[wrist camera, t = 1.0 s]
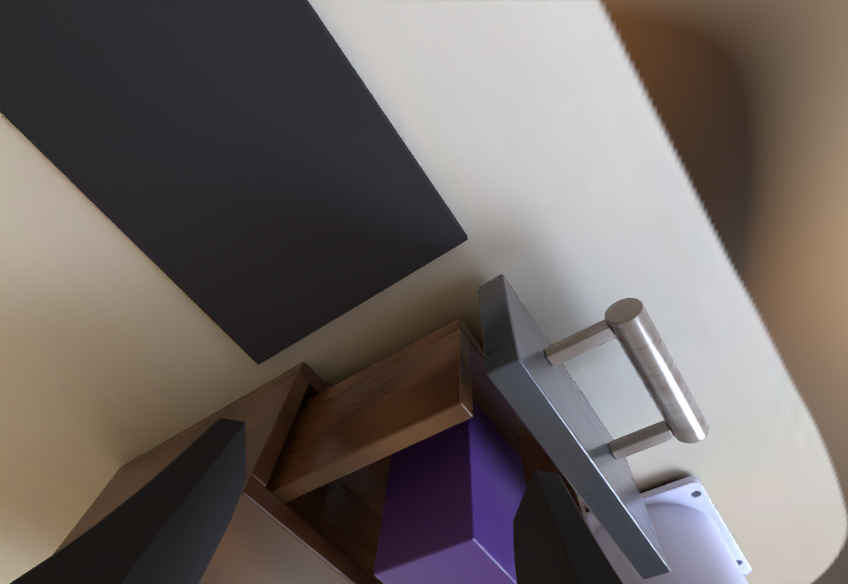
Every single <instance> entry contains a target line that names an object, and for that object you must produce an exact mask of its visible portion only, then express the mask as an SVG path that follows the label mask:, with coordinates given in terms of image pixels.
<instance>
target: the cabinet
mask: <svg viewBox="0 0 848 584" xmlns="http://www.w3.org/2000/svg"><path fill="white" fill-rule="evenodd" d="M327 389H329V388H328V387H327V386H326V385H325V384H324V383H323V382H322V381H321V379H320V378H319V377H318V376H317V375H316V374H315V373H314V372H313V371H312V370H311V369H310V368H309V367H308V366H307V365H306V364H305V363H302V364H300V365H298V366H296V367H295V368H293V369H291V370H290V371H288V372H286V373H284V374H283V375H281V376H279V377H277V378H276V379H274V380H272V381H270V382H269V383H267V384H265V385H263V386H262V387H260V388H258V389H256V390H255V391H253V392H251V393H250V394H248V395H246V396H244V397H243V398H241V399H239V400H237V401H236V402H234V403H232V404H230V405H229V406H227V407H225V408H223V409H222V410H220V411H218V412H216V413H215V414H213V415H211V416H210V417H208V418H206V419H204V420H203V421H201V422H199V423H197V424H196V425H194V426H192V427H190V428H189V429H187V430H185V431H183V432H182V433H180V434H178V435H176V436H175V437H173V438H171V439H170V440H168V441H166V442H164V443H163V444H161V445H159V446H157V447H156V448H154V449H152V450H150V451H149V452H147V453H145V454H143V455H142V456H140V457H138V458H136V459H135V460H133V461H131V462H130V463H128V464H126V465H124V466H123V467H121V468H119V470H118V471H117V472H116V474H115V475H114V476H113V479H111V480H110V481H109V483H108V484H107V485H106V487H105V488H104V489H103V491H102V492H101V493H100V494H99V496H98V497H97V498H96V500H95V501H94V502H93V503H92V505H91V506H90V507H89V509H88V510H87V511H86V513H85V514H84V515H83V516H82V518H81V519H80V520H79V522H78V523H77V524H76V525H75V527H74V528H73V529H72V531H71V532H70V533H69V535H68V536H67V537H66V538H65V540H64V541H63V542H62V544H61V545H60V546H59V547H58V549H57V550H56V551H55V553H56V552H58V551H59V550H61V549H62V548H63V547H65V546H66V545H68V544H69V543H71V542H72V541H73V540H75V539H76V538H78V537H79V536H80V535H82V534H83V533H84V532H86V531H87V530H88V529H90V528H91V527H92V526H94V525H95V524H96V523H98V522H99V521H100V520H102V519H103V518H104V517H105V516H107V515H108V514H109V513H111V512H112V511H113V510H114V509H116V508H117V507H118V506H119V505H121V504H122V503H123V502H124V501H126V500H127V499H128V498H129V497H131V496H132V495H133V494H134V493H136V492H137V491H138V490H139V489H140V488H142V487H143V486H144V485H145V484H146V483H148V482H149V481H150V480H151V479H152V478H153V477H155V476H156V475H157V474H158V473H159V472H160V471H161V470H163V469H164V468H165V467H166V466H167V465H168V464H170V463H171V462H172V461H173V460H174V459H175V458H176V457H177V456H178V455H180V454H181V453H182V452H183V451H184V450H185V449H186V448H187V447H188V446H189V445H191V444H192V443H193V442H194V441H195V440H196V439H197V438H198V437H199V436H200V435H201V434H202V433H203V432H204V431H206V430H207V429H208V428H209V427H210V426H211V425H212V424H213V423H214V422H215V421H216V420H218V419H219V418H225V419H231V420H237V421H243V422H245V430H246V469H247V479H246V482H245V484H244V487H243V490H242V493H241V495H240V498H239V501H238V503H237V506H236V508H235V511H234V513H233V516H232V519H231V521H230V523H229V525H228V527H227V529H226V531H225V533H224V535H223V537H222V539H221V541H220V543H219V545H218V547H217V549H216V551H215V553H214V555H213V557H212V559H211V561H210V563H209V564H208V566H207V568H206V570H205V572H204V574H203V576H202V578H201V580H200V582H199V584H378V583H377V582H376V581H375V580H374V579H372V578H371V577H370V576H369V575H368V574H367V573H365V572H364V571H363V570H362V569H361V568H359V567H358V566H357V565H356V564H355V563H354V562H352V561H351V560H350V559H349V558H348V557H347V556H345V555H344V554H343V553H342V552H341V551H339V550H338V549H337V548H336V547H335V546H334V545H332V544H331V543H330V542H329V541H328V540H327V539H325V538H324V537H323V536H322V535H321V534H319V533H318V532H317V531H316V530H315V529H314V528H312V527H311V526H310V525H309V524H308V523H307V522H305V521H304V520H303V519H302V518H301V517H299V516H298V515H297V514H296V513H295V512H294V511H292V510H291V509H290V508H289V507H288V506H287V505H285V504H284V503H283V502H282V501H281V500H279V499H278V498H277V497H276V496H275V495H274V494H272V493H271V492H270V491H269V490H268V489H267V488H265V487H266V486H267V484H268V481H269V479H270V476H271V474H272V471H273V469H274V467H275V464H276V462H277V459H278V457H279V455H280V452H281V450H282V447H283V445H284V443H285V440H286V438H287V435H288V433H289V431H290V428H291V426H292V423H293V421H294V419H295V416H296V414H297V411H298V409H299V407H300V404H301V403H303V402H305V401H306V400H308V399H310V398H312V397H314V396H316V395H318V394H319V393H321V392H323V391H325V390H327ZM55 553H54V554H55Z"/></svg>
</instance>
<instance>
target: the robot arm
mask: <svg viewBox="0 0 848 584" xmlns="http://www.w3.org/2000/svg"><path fill="white" fill-rule="evenodd" d="M246 479H247V469H246V430H245V422H243V421H237V420H231V419H225V418H219V419H218V420H216V421H215V422H214V423H213V424H212V425H211V426H210V427H209V428H208V429H207V430H206V431H204V432H203V433H202V434H201V435H200V436H199V437H198V438H197V439H196V440H195V441H194V442H193V443H192V444H191V445H189V446H188V447H187V448H186V449H185V450H184V451H183V452H182V453H181V454H180V455H178V456H177V457H176V458H175V459H174V460H173V461H172V462H171V463H170V464H168V465H167V466H166V467H165V468H164V469H163V470H161V471H160V472H159V473H158V474H157V475H156V476H155V477H153V478H152V479H151V480H150V481H149V482H148V483H146V484H145V485H144V486H143V487H142V488H140V489H139V490H138V491H137V492H136V493H134V494H133V495H132V496H131V497H129V498H128V499H127V500H126V501H124V502H123V503H122V504H121V505H119V506H118V507H117V508H116V509H114V510H113V511H112V512H111V513H109V514H108V515H107V516H105V517H104V518H103V519H102V520H100V521H99V522H98V523H96V524H95V525H94V526H92V527H91V528H90V529H88V530H87V531H86V532H84V533H83V534H82V535H80V536H79V537H78V538H76V539H75V540H73V541H72V542H71V543H69V544H68V545H66V546H65V547H63V548H62V549H61V550H59V551H58V552H56V553H55V554H53V555H52V556H51V557H49V558H48V559H46V560H45V561H43V562H42V563H40V564H39V565H37V566H36V567H34V568H33V569H31V570H30V571H28V572H27V573H25V574H23V575H22V576H20V577H19V578H17V579H16V580H14V581H13V582H11V583H10V584H199V582H200V580H201V578H202V576H203V574H204V572H205V570H206V568H207V566H208V564H209V563H210V561H211V559H212V557H213V555H214V553H215V551H216V549H217V547H218V545H219V543H220V541H221V539H222V537H223V535H224V533H225V531H226V529H227V527H228V525H229V523H230V521H231V519H232V516H233V513H234V511H235V508H236V506H237V503H238V501H239V498H240V495H241V493H242V490H243V487H244V484H245V482H246ZM640 495H641V497H642V500H643V502H644V505H645V507H646V510H647V512H648V514H649V517H650V519H651V522H652V524H653V527H654V529H655V532H656V534H657V537H658V539H659V542H660V544H661V546H662V549H663V551H664V554H665V556H666V559H667V561H668V564H669V566H670V569H671V571H670V572H668V573H665V574H661V575H658V576H655V577H651V578H648V579H642V578H641V576H640V575H639V574H638V572H637V571H636V570H635V568H634V567H633V566H632V565H631V563H630V562H629V561H628V559H627V558H626V557H625V555H624V554H623V553H622V551H621V550H620V549H619V548H618V546H617V545H616V544H615V542H614V541H613V540H612V538H611V537H610V536H609V535H608V533H607V532H606V531H605V529H604V528H603V527H602V525H601V524H600V523H599V521H598V520H597V519H596V518H595V516H594V515H593V514H592V512H591V511H589V512H587V513H586V514H587V518H588V522H589V525H590V529H591V530H590V529H589V527H588V525H587V523H586V522H585V520H584V518H583V516H582V515H581V513H580V511H579V509H578V508H577V506H576V504H575V502H574V500H573V498H572V497H571V495H570V493H569V491H568V489H567V488H566V486H565V484H564V482H563V480H562V478H561V477H560V475H559V474H558V473H554V472H548V471H542V470H536V469H534V470H533V473H532V475H531V478H530V480H529V483H528V485H527V488H526V490H525V492H524V495H523V497H522V500H521V502H520V505H519V507H518V510H517V512H516V515H515V517H514V520H513V544H514V565H515V572H516V580H517V584H748V582H747V580H746V578H745V577H744V576H745V575H748V574H749V573H750V572H751V567H750V565H749V563H748V562H747V560H746V558H745V557H744V555H743V553H742V552H741V550H740V548H739V546H738V545H737V543H736V541H735V540H734V538H733V536H732V535H731V533H730V531H729V530H728V528H727V526H726V524H725V523H724V521H723V519H722V518H721V516H720V514H719V513H718V511H717V509H716V508H715V506H714V504H713V502H712V501H711V499H710V497H709V496H708V494H707V492H706V491H705V489H704V487H703V486H702V484H701V482H700V480H699V479H698V478H696V477H686V478H683V479H680V480H678V481H675V482H672V483H669V484H666V485H663V486H660V487H658V488H655V489H652V490H649V491H646V492H643V493H641V494H640Z"/></svg>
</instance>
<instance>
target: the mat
mask: <svg viewBox="0 0 848 584" xmlns="http://www.w3.org/2000/svg"><path fill="white" fill-rule="evenodd" d="M0 112H1V113H2V114H3V115H4V116H5V117H6V118H7V119H8V120H9V121H10V122H11V123H12V124H13V125H14V126H15V127H16V128H17V129H19V130H20V131H21V132H22V133H23V134H24V135H25V136H26V137H27V138H28V139H29V140H30V141H31V142H32V143H33V144H34V145H35V146H36V147H37V148H38V149H39V150H40V151H41V152H42V153H43V154H44V155H45V156H46V157H47V158H48V159H49V160H50V161H51V162H52V163H53V164H54V165H55V166H56V167H57V168H58V169H59V170H60V171H61V172H62V173H63V174H64V175H65V176H66V177H67V178H68V179H69V180H70V181H71V182H73V183H74V184H75V185H76V186H77V187H78V188H79V189H80V190H81V191H82V192H83V193H84V194H85V195H86V196H87V197H88V198H89V199H90V200H91V201H92V202H93V203H94V204H95V205H96V206H97V207H98V208H99V209H100V210H101V211H102V212H103V213H104V214H105V215H106V216H107V217H108V218H109V219H110V220H111V221H112V222H113V223H114V224H115V225H116V226H117V227H118V228H119V229H120V230H121V231H122V232H123V233H124V234H125V235H127V236H128V237H129V238H130V239H131V240H132V241H133V242H134V243H135V244H136V245H137V246H138V247H139V248H140V249H141V250H142V251H143V252H144V253H145V254H146V255H147V256H148V257H149V258H150V259H151V260H152V261H153V262H154V263H155V264H156V265H157V266H158V267H159V268H160V269H161V270H162V271H163V272H164V273H165V274H166V275H167V276H168V277H169V278H170V279H171V280H172V281H173V282H174V283H175V284H176V285H177V286H178V287H179V288H181V289H182V290H183V291H184V292H185V293H186V294H187V295H188V296H189V297H190V298H191V299H192V300H193V301H194V302H195V303H196V304H197V305H198V306H199V307H200V308H201V309H202V310H203V311H204V312H205V313H206V314H207V315H208V316H209V317H210V318H211V319H212V320H213V321H214V322H215V323H216V324H217V325H218V326H219V327H220V328H221V329H222V330H223V331H224V332H225V333H226V334H227V335H228V336H229V337H230V338H231V339H232V340H233V341H235V342H236V343H237V344H238V345H239V346H240V347H241V348H242V349H243V350H244V351H245V352H246V353H247V354H248V355H249V356H250V357H251V358H252V359H253V360H254V361H255V362H256V363H257V364H260V363H262V362H264V361H265V360H267V359H269V358H270V357H272V356H274V355H275V354H277V353H279V352H280V351H282V350H284V349H285V348H287V347H289V346H290V345H292V344H294V343H296V342H297V341H299V340H301V339H302V338H304V337H306V336H307V335H309V334H311V333H312V332H314V331H316V330H317V329H319V328H321V327H322V326H324V325H326V324H327V323H329V322H331V321H332V320H334V319H336V318H337V317H339V316H341V315H342V314H344V313H346V312H347V311H349V310H351V309H352V308H354V307H356V306H357V305H359V304H361V303H363V302H364V301H366V300H368V299H369V298H371V297H373V296H374V295H376V294H378V293H379V292H381V291H383V290H384V289H386V288H388V287H389V286H391V285H393V284H394V283H396V282H398V281H399V280H401V279H403V278H404V277H406V276H408V275H409V274H411V273H413V272H414V271H416V270H418V269H419V268H421V267H423V266H424V265H426V264H428V263H429V262H431V261H433V260H435V259H436V258H438V257H440V256H441V255H443V254H445V253H446V252H448V251H450V250H451V249H453V248H455V247H456V246H458V245H460V244H461V243H463V242H465V241H466V240H467V239H468V238H467V235H466V233H465V232H464V230H463V229H462V227H461V226H460V224H459V223H458V221H457V220H456V218H455V217H454V215H453V214H452V212H451V211H450V210H449V208H448V207H447V205H446V204H445V202H444V201H443V199H442V198H441V196H440V195H439V193H438V192H437V190H436V189H435V187H434V186H433V184H432V183H431V182H430V180H429V179H428V177H427V176H426V174H425V173H424V171H423V170H422V168H421V167H420V165H419V164H418V162H417V161H416V159H415V158H414V156H413V155H412V153H411V152H410V151H409V149H408V148H407V146H406V145H405V143H404V142H403V140H402V139H401V137H400V136H399V134H398V133H397V131H396V130H395V128H394V127H393V125H392V124H391V123H390V121H389V120H388V118H387V117H386V115H385V114H384V112H383V111H382V109H381V108H380V106H379V105H378V103H377V102H376V100H375V99H374V97H373V96H372V95H371V93H370V92H369V90H368V89H367V87H366V86H365V84H364V83H363V81H362V80H361V78H360V77H359V75H358V74H357V72H356V71H355V69H354V68H353V66H352V65H351V64H350V62H349V61H348V59H347V58H346V56H345V55H344V53H343V52H342V50H341V49H340V47H339V46H338V44H337V43H336V41H335V40H334V38H333V37H332V36H331V34H330V33H329V31H328V30H327V28H326V27H325V25H324V24H323V22H322V21H321V19H320V18H319V16H318V15H317V13H316V12H315V10H314V9H313V8H312V6H311V5H310V3H309V2H308V0H0Z"/></svg>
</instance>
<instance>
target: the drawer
mask: <svg viewBox="0 0 848 584" xmlns="http://www.w3.org/2000/svg"><path fill="white" fill-rule="evenodd" d="M478 294H479V304H480V315H481V325H482V336H483V346H484V350H483V348H482V347H481V346H480V344H479V343H478V342H477V340H476V339H475V338H474V336H473V335H472V334H471V332H470V331H469V330H468V328H467V327H466V326H465V324H464V323H463V322H462V320H461V319H460V318H459V319H457V320H455V321H453V322H451V323H449V324H447V325H445V326H444V327H442V328H440V329H438V330H436V331H434V332H432V333H431V334H429V335H427V336H425V337H423V338H421V339H419V340H418V341H416V342H414V343H412V344H410V345H408V346H406V347H405V348H403V349H401V350H399V351H397V352H395V353H394V354H392V355H390V356H388V357H386V358H384V359H382V360H381V361H379V362H377V363H375V364H373V365H371V366H369V367H368V368H366V369H364V370H362V371H360V372H358V373H356V374H355V375H353V376H351V377H349V378H347V379H345V380H343V381H342V382H340V383H338V384H336V385H334V386H332V387H331V388H329V389H327V390H325V391H323V392H321V393H319V394H318V395H316V396H314V397H312V398H310V399H308V400H306V401H305V402H303V403H301V404H300V407H299V409H298V411H297V414H296V416H295V419H294V421H293V423H292V426H291V428H290V431H289V433H288V435H287V438H286V440H285V443H284V445H283V447H282V450H281V452H280V455H279V457H278V459H277V462H276V464H275V467H274V469H273V471H272V474H271V476H270V479H269V481H268V484H267V486H266V487H265V488H267V489H268V490H269V491H270V492H271V493H272V494H274V495H275V496H276V497H277V498H278V499H279V500H281V501H282V502H283V503H284V504H285V505H287V506H288V507H289V508H290V509H291V510H292V511H294V512H295V513H296V514H297V515H298V516H299V517H301V518H302V519H303V520H304V521H305V522H307V523H308V524H309V525H310V526H311V527H312V528H314V529H315V530H316V531H317V532H318V533H319V534H321V535H322V536H323V537H324V538H325V539H327V540H328V541H329V542H330V543H331V544H332V545H334V546H335V547H336V548H337V549H338V550H339V551H341V552H342V553H343V554H344V555H345V556H347V557H348V558H349V559H350V560H351V561H352V562H354V563H355V564H356V565H357V566H358V567H359V568H361V569H362V570H363V571H364V572H365V573H367V574H368V575H369V576H370V577H371V578H372V579H374V580H375V581H376V582H377V583H378V584H384V583H383V582H382V581H380V580H379V579H378V578H377V577H376V576H375V575H374V567H375V561H376V554H377V547H378V541H379V534H380V527H381V521H382V514H383V507H384V501H385V494H386V487H387V481H388V474H389V467H390V461H391V454H393V453H396V452H398V451H400V450H402V449H404V448H407V447H409V446H411V445H413V444H415V443H418V442H420V441H422V440H424V439H426V438H428V437H431V436H433V435H435V434H437V433H439V432H442V431H444V430H446V429H448V428H450V427H453V426H455V425H457V424H459V423H461V422H464V421H466V420H468V419H470V418H472V417H473V404H472V398H473V399H474V400H475V401H476V403H477V404H478V405H479V406H480V408H481V409H482V410H483V411H484V413H485V414H486V415H487V416H488V418H489V419H490V420H491V421H492V423H493V424H494V425H495V426H496V428H497V429H498V430H499V431H500V433H501V434H502V435H503V436H504V438H505V439H506V440H507V441H508V443H509V444H510V445H511V446H512V448H513V449H514V450H515V451H516V452H517V454H518V455H519V456H520V457H521V459H522V463H523V469H524V476H525V482H526V488H527V485H528V483H529V480H530V478H531V475H532V473H533V470H534V469H536V470H542V471H548V472H554V473H558V474H559V475H560V477H561V478H562V480H563V482H564V484H565V486H566V488H567V489H568V491H569V493H570V495H571V497H572V498H573V500H574V502H575V504H576V506H577V508H578V509H579V511H580V513H581V515H582V516H583V518H584V520H585V522H586V523H587V525H588V527H589V529H590V525H589V522H588V518H587V514H586V511H585V507H584V504H583V502H584V503H585V504H586V506H587V507H588V508H589V510H590V511H591V512H592V514H593V515H594V516H595V518H596V519H597V520H598V521H599V523H600V524H601V525H602V527H603V528H604V529H605V531H606V532H607V533H608V535H609V536H610V537H611V538H612V540H613V541H614V542H615V544H616V545H617V546H618V548H619V549H620V550H621V551H622V553H623V554H624V555H625V557H626V558H627V559H628V561H629V562H630V563H631V565H632V566H633V567H634V568H635V570H636V571H637V572H638V574H639V575H640V576H641V578H642V579H648V578H651V577H655V576H658V575H661V574H665V573H668V572H670V571H671V569H670V566H669V564H668V561H667V559H666V556H665V554H664V551H663V549H662V546H661V544H660V542H659V539H658V537H657V534H656V532H655V529H654V527H653V524H652V522H651V519H650V517H649V514H648V512H647V510H646V507H645V505H644V502H643V500H642V497H641V495H640V492H639V490H638V487H637V485H636V482H635V480H634V478H633V475H632V473H631V470H630V468H629V465H628V463H627V460H626V458H625V457H626V456H629V455H632V454H634V453H637V452H639V451H642V450H645V449H647V448H650V447H653V446H655V445H658V444H660V443H663V442H666V441H668V440H671V439H673V438H674V437H675V438H676V439H677V440H679V441H681V442H684V443H696V442H699V441H701V440H702V439H704V438H705V437H706V435H707V433H708V424H707V422H706V420H705V418H704V417H703V415H702V413H701V411H700V409H699V407H698V405H697V404H696V402H695V400H694V398H693V396H692V394H691V392H690V391H689V389H688V387H687V385H686V383H685V381H684V379H683V378H682V376H681V374H680V372H679V370H678V368H677V366H676V365H675V363H674V361H673V359H672V357H671V355H670V353H669V352H668V350H667V348H666V346H665V344H664V342H663V340H662V339H661V337H660V335H659V333H658V331H657V329H656V327H655V326H654V324H653V322H652V320H651V318H650V316H649V315H648V313H647V311H646V309H645V307H644V305H643V303H642V302H641V301H640V300H638V299H636V298H626V299H622V300H619V301H617V302H615V303H614V304H612V305H611V306H610V307H609V308H608V309H607V311H606V313H605V319H606V320H602V321H600V322H598V323H596V324H594V325H592V326H590V327H588V328H586V329H584V330H582V331H579V332H577V333H575V334H573V335H571V336H569V337H567V338H565V339H563V340H561V341H559V342H557V343H555V344H553V345H550V344H549V343H548V341H547V340H546V338H545V337H544V335H543V334H542V332H541V331H540V329H539V328H538V326H537V325H536V323H535V322H534V320H533V319H532V317H531V316H530V314H529V313H528V311H527V310H526V308H525V307H524V305H523V304H522V302H521V301H520V299H519V298H518V296H517V295H516V293H515V292H514V290H513V289H512V287H511V286H510V284H509V283H508V281H507V280H506V278H505V277H504V275H502V274H501V275H499V276H497V277H495V278H493V279H492V280H490V281H488V282H486V283H484V284H483V285H481V286H479V287H478ZM615 337H616V338H617V340H618V342H619V343H620V345H621V347H622V349H623V350H624V352H625V354H626V355H627V357H628V359H629V360H630V362H631V364H632V366H633V367H634V369H635V371H636V372H637V374H638V376H639V377H640V379H641V381H642V382H643V384H644V386H645V388H646V389H647V391H648V393H649V394H650V396H651V398H652V399H653V401H654V403H655V405H656V406H657V408H658V410H659V411H660V413H661V415H662V416H663V418H664V420H665V421H661V422H659V423H656V424H653V425H651V426H648V427H646V428H643V429H641V430H638V431H636V432H633V433H631V434H628V435H626V436H623V437H621V438H618V439H616V440H613V438H612V437H611V435H610V434H609V432H608V431H607V429H606V428H605V426H604V425H603V423H602V422H601V420H600V419H599V417H598V416H597V414H596V413H595V411H594V410H593V408H592V407H591V405H590V404H589V402H588V401H587V399H586V398H585V396H584V395H583V393H582V392H581V390H580V389H579V387H578V386H577V384H576V383H575V381H574V380H573V378H572V377H571V375H570V374H569V373H568V371H567V370H566V368H565V367H564V365H563V364H562V363H563V362H565V361H567V360H569V359H571V358H574V357H576V356H578V355H580V354H582V353H584V352H586V351H589V350H591V349H593V348H595V347H597V346H599V345H601V344H604V343H606V342H608V341H610V340H612V339H614V338H615ZM590 530H591V529H590Z"/></svg>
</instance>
